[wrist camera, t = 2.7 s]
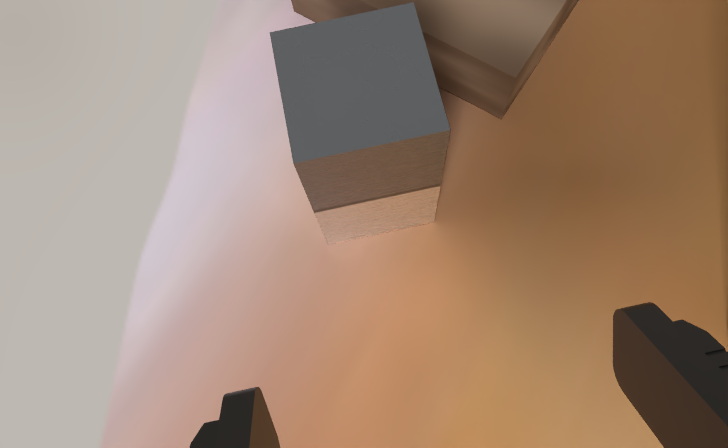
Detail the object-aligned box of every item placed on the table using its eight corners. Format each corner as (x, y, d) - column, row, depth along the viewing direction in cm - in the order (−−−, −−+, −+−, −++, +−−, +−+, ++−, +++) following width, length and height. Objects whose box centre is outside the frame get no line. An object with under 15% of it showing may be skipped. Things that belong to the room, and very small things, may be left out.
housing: (309, 149, 31) (269, 32, 22) (409, 128, 31) (413, 2, 22) (327, 245, 29) (293, 163, 20) (434, 222, 29) (450, 130, 20)
